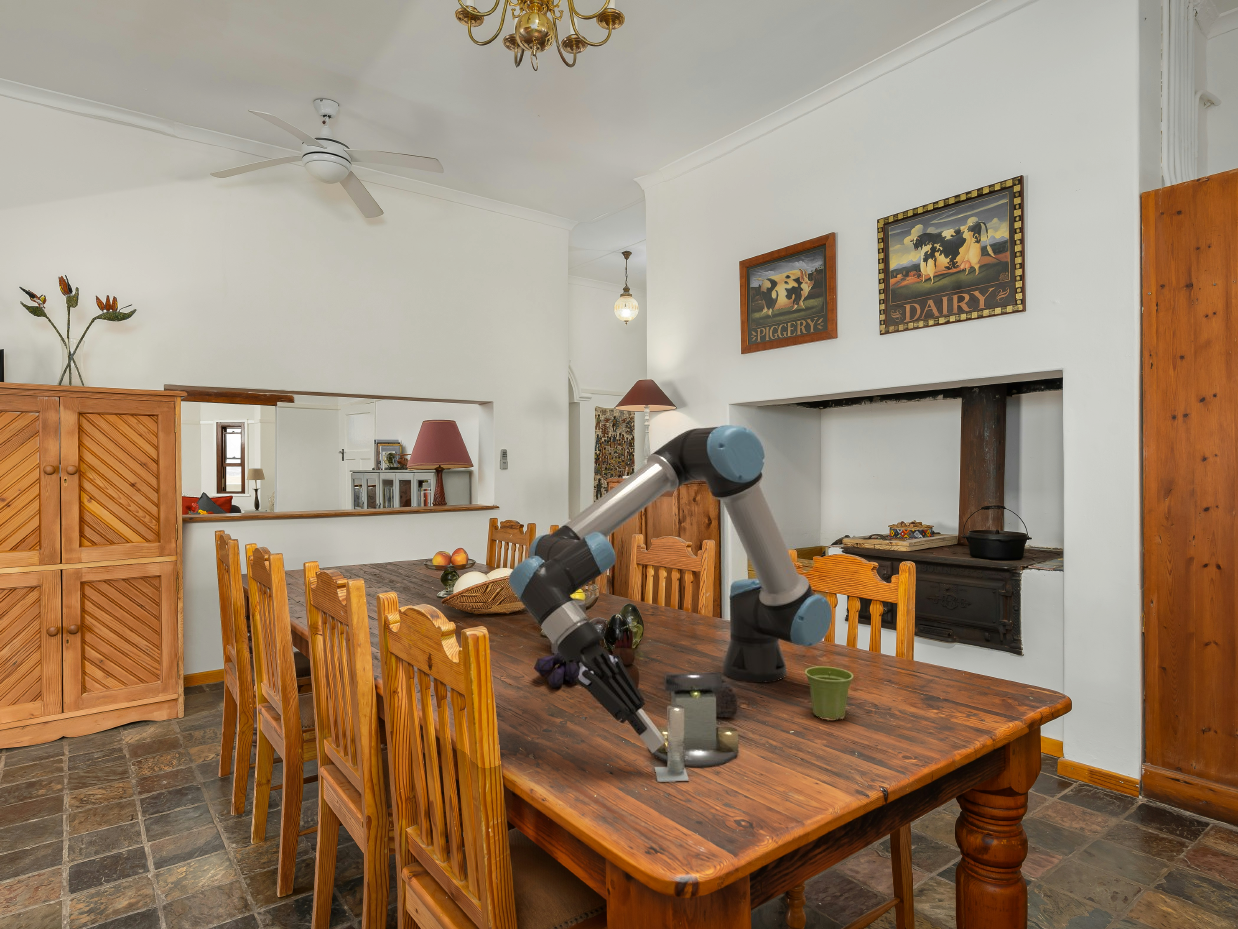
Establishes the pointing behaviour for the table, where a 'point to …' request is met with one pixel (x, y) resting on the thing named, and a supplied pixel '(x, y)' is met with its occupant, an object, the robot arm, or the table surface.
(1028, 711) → the table surface
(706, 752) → the tribrach
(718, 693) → the perforated stone tool
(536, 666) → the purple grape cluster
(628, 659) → the wooden figurine
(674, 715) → the lever
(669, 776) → the pad
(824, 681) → the plant pot
